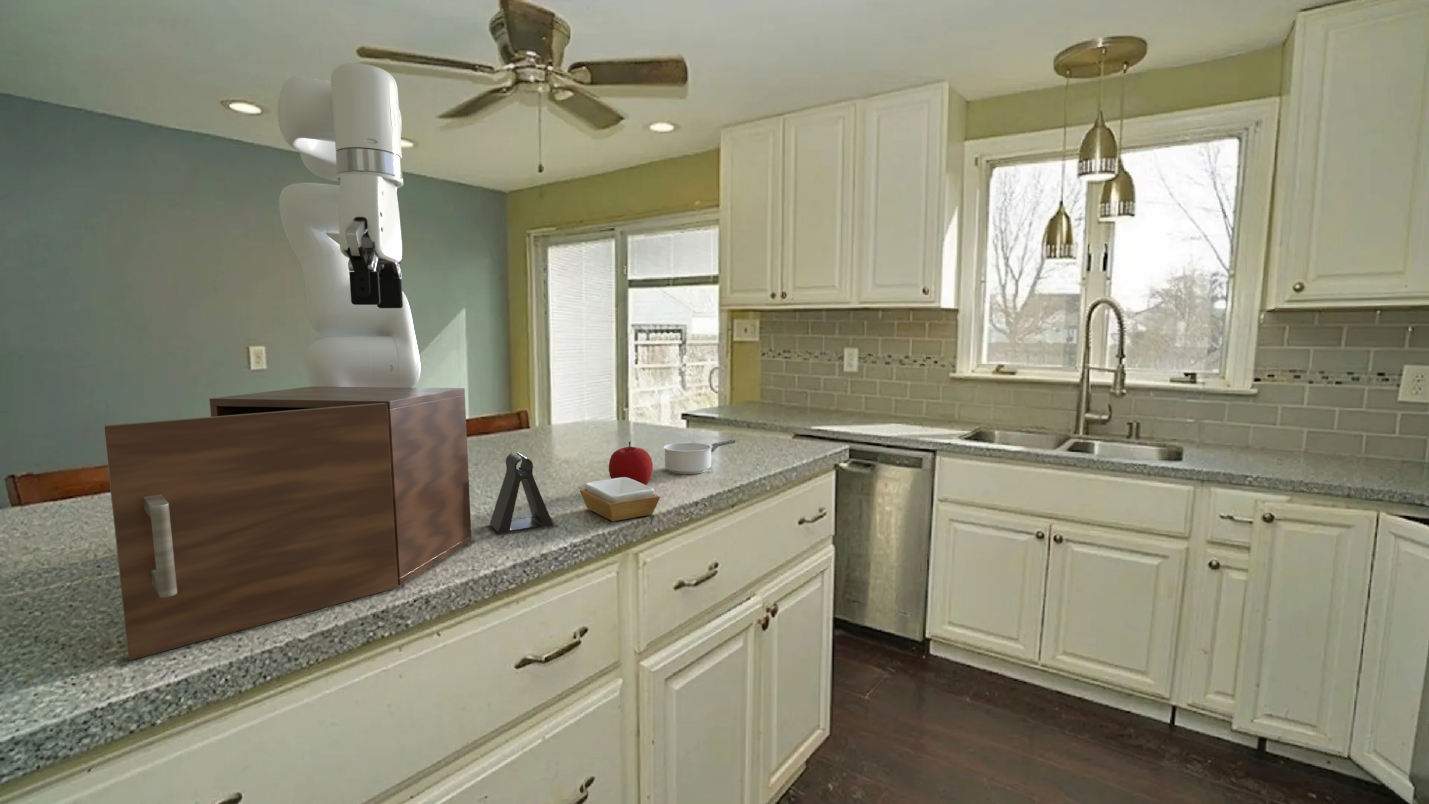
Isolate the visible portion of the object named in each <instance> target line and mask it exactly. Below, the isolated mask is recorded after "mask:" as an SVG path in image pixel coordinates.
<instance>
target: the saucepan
mask: <svg viewBox="0 0 1429 804" xmlns="http://www.w3.org/2000/svg"><path fill="white" fill-rule="evenodd" d="M735 443H736V439H727V440H724V441H718V442H715V443H712V444H710V443H704V442H675V443H674V442H673V443H669V444H664V445H663V446H662V448H663V449H664V468H665V469H666V470H668V471H670V473H672V474H677V475H695V474H696V475H697V474H702V473H705V472H706V471H707V470H708V469H710V468H711V467H712V453H714V452H715V451H716V450H717V449H718V448H719V447H722V446H727V445H731V444H735Z"/></svg>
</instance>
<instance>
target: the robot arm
mask: <svg viewBox="0 0 1429 804" xmlns="http://www.w3.org/2000/svg"><path fill="white" fill-rule="evenodd" d="M279 91H280V92H279V96H278V98H277V99H278V100H277V111H276V112H277V113H276V114H277V115H276V116H277V122H278V126H279V130H280V133H281V135H282V137H283V139H284V141H285V142H286V143H287V145H289V146H290V147H291V148H292V149H294V150H296V151H297V152H299V156H300V159H301V161H302V163H303V165H304V166H305V168H306V169H307V170H308V171H309V172H311V173H312V174H313V175H315V176H317V177H319V178H321V179H324V180H327V181H333V182H339V185H338V184H331V183H322V182H321V183H320V182H297V183H291V184H289V185H286V186H285V187H284V188H282V190H281V192H280V194H279V199H278V209H279V216H280V220H281V225H282V228H283V231H284V233H285V236H286V239H287V241H288V243H289V245H290V247H291V249H292V250H293V252H294V254H295V256H296V258H297V259H298V261H299V263H300V266H301V270H302V274H303V281H304V288H305V295H306V301H307V309H308V315H309V319H310V323H311V325H312V327H313V329H314V330H315V331H316V332H317V333H319V334H320V335H323V336H326V337H325V338H320V339H318V340H316V341H314V342H312V343H311V344H310V345H309V346H308V347H307V349H306V351H305V356H304V357H305V359H304V360H305V368H306V373H307V376H308V380H309V384H310V387H312V386H313V387H401V388H414V387H415V386H416V385H417V384H418V382H419V381H420V377H421V359H420V353H419V347H418V343H417V338H416V332H415V328H414V323H413V316H412V311H411V308H410V307H411V306H410V305H409V300H408V298H407V296H406V294H405V293H404V291H403V282H402V271H401V262H400V261H401V260H402V259H403V258H402V257H403V241H402V229H401V217H400V207H399V205H400V204H399V199H398V193H397V191H398V189H399V188H402V187H403V186H404V172H403V154H402V131H403V130H402V129H403V119H402V113H401V110H400V104H399V90H398V84H397V82H396V79H395V78H394V76H393V75H392V74H391V73H389V72H388V71H386V70H385V69H383V68H381V67H378V66H374V65H371V64H366V63H358V62H348V63H343V64H342V63H341V64H339V65H338V66H336V67H334V69H333V70H332V72H331V75H330V80H326V79H322V78H315V77H310V76H303V75H302V76H301V75H300V76H299V75H297V76H290V77H288V78H287V79H286V80H284V82H283V83H282V85H281V88H280V90H279ZM328 234H335V235H339V237H338V238H339V243H338V242H336V240H334V239H332V238H331V237H330V236H329V235H328ZM327 336H329V337H327Z"/></svg>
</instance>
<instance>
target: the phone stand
mask: <svg viewBox="0 0 1429 804" xmlns="http://www.w3.org/2000/svg"><path fill="white" fill-rule="evenodd" d="M519 462H521V463H520V465H519V466H518V464H519ZM517 466H518V468H517ZM505 467H506V470H505V475H504V477H503V481H502V484H501V487H500V490H499V493H498V496H497V500H496V503H495V506H494V509H493V512H492V516H491V518H490V521H489V525H490V527H492V529H494V531H496V533H497V534H498V535H502V534H508V533H509V534H510V533H515V532H520V531H521V532H522V531H526V530H528V531H529V530H533V529H534V530H535V529H540V528H547V527H553V525H554V523H553V521H552V518H551V515H550V513H549V511H548V509H547V506H546V503H545V501H544V499H543V497H542V494H541V492H540V490H539V487H538V484H537V483H536V479H535V478H534V473H533V471H534V464H533V461H532V459H529V458H528V457H526V456H525V455H523V454H522V453H520V452H516V454H514V453H513V452H511V453H509V454H508V455H507V456H506V458H505ZM521 485H522V488H523V491H524V494H525V498H526V501H527V503H528V507H529V510H530V513H531V516H530V517H524V518H517V519H513V516H514V512H515V507H516V503H517V499H518V495H519V489H520V486H521Z"/></svg>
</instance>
